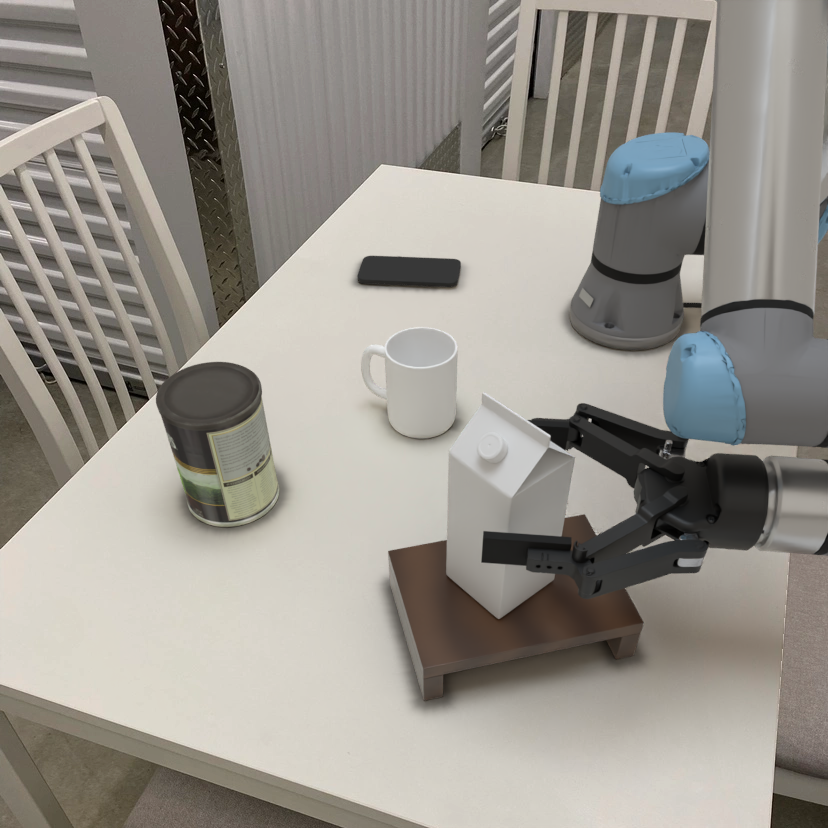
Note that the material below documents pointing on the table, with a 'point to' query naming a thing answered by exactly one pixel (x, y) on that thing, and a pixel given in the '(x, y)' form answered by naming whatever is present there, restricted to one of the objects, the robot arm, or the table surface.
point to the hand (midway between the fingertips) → (486, 485)
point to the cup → (417, 380)
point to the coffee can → (220, 442)
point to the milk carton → (502, 501)
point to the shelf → (508, 636)
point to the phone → (409, 271)
